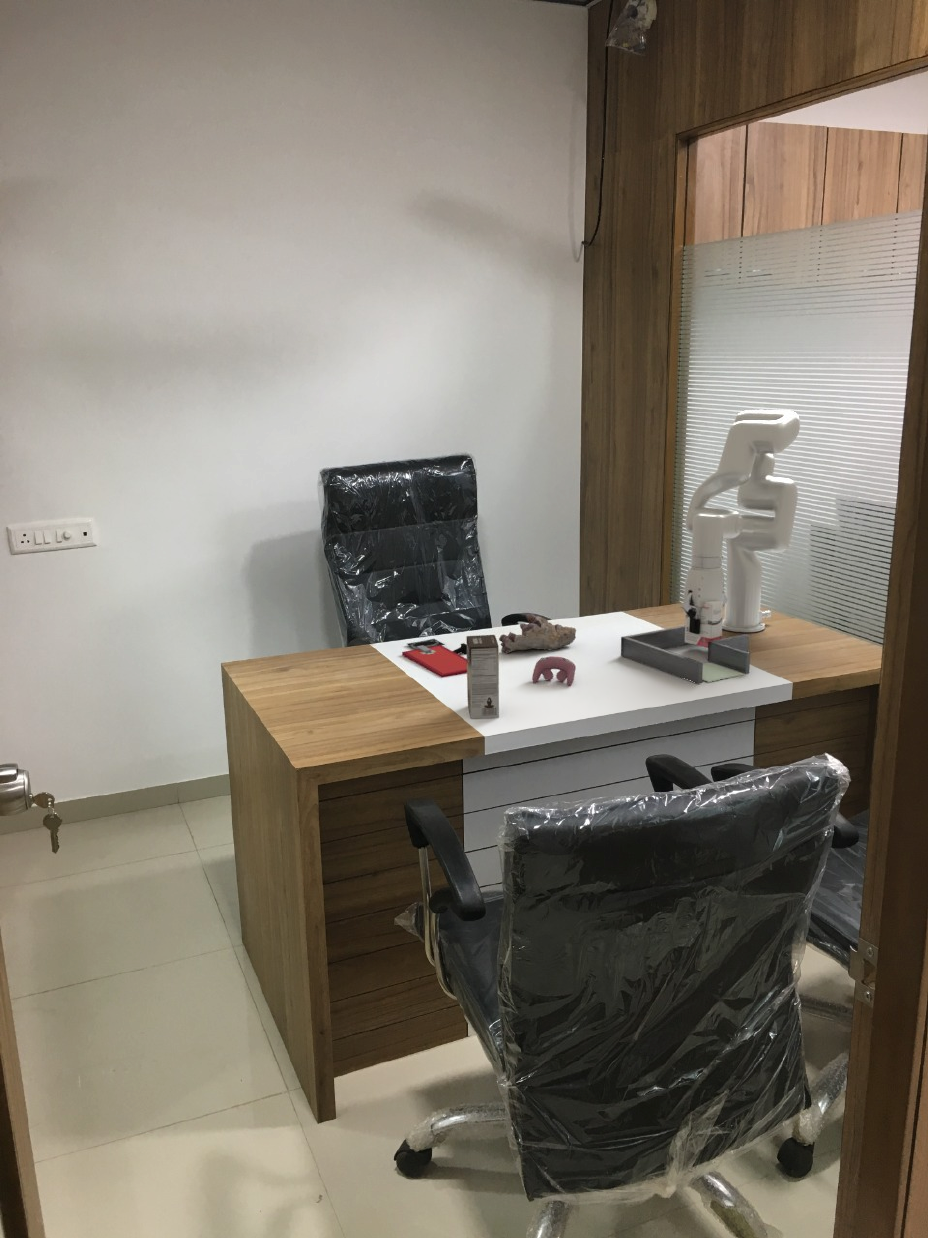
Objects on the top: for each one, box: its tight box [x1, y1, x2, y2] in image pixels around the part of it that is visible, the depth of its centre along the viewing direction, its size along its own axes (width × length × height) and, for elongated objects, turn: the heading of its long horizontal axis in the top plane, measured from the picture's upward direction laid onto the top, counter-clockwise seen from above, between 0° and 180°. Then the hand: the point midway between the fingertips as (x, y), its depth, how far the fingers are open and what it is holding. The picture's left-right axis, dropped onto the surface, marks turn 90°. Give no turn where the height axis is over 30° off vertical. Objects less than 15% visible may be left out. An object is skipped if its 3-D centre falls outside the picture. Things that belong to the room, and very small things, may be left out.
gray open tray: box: [620, 624, 751, 684], centre depth 252 cm, size 28×28×5 cm
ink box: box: [684, 601, 724, 649], centre depth 259 cm, size 8×5×12 cm, turn 39°
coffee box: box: [465, 634, 500, 720], centre depth 216 cm, size 9×6×16 cm
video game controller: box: [531, 656, 577, 687], centre depth 237 cm, size 10×5×7 cm, turn 72°
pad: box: [702, 662, 744, 683], centre depth 242 cm, size 11×11×1 cm
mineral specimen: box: [498, 613, 577, 655], centre depth 265 cm, size 20×10×10 cm
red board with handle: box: [401, 638, 467, 678], centre depth 258 cm, size 30×3×15 cm
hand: (703, 630), depth 259 cm, fingers closed on ink box, 5 cm apart
